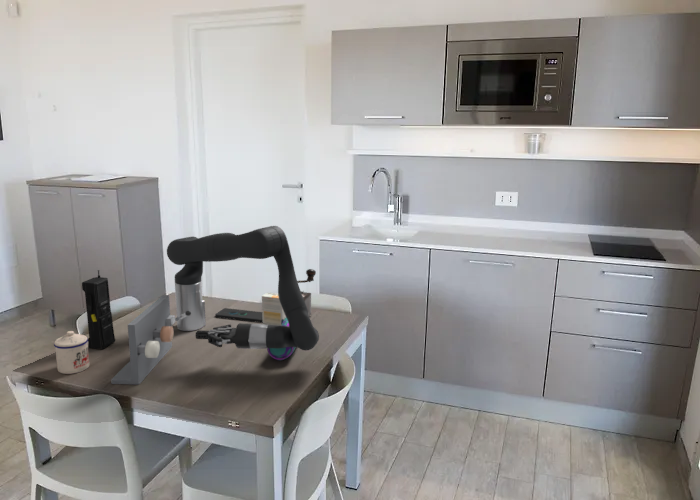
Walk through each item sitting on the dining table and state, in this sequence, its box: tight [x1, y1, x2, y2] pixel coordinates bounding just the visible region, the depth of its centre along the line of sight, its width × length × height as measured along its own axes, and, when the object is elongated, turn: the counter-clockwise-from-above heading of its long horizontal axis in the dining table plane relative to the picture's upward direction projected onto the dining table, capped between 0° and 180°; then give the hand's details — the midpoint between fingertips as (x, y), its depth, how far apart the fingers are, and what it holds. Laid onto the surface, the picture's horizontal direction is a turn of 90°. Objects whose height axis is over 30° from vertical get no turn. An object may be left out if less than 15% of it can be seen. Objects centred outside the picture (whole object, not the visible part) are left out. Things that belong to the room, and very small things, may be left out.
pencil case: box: [266, 318, 297, 361], centre depth 180 cm, size 21×9×10 cm, turn 173°
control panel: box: [110, 294, 176, 385], centre depth 165 cm, size 10×27×18 cm, turn 178°
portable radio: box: [81, 270, 116, 350], centre depth 177 cm, size 8×6×25 cm
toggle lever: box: [175, 310, 191, 322], centre depth 176 cm, size 6×2×2 cm, turn 88°
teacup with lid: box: [53, 330, 90, 375], centre depth 164 cm, size 12×9×12 cm
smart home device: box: [215, 307, 263, 323], centre depth 210 cm, size 8×2×20 cm
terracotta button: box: [153, 325, 175, 342], centre depth 165 cm, size 7×5×5 cm
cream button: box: [137, 341, 160, 358], centre depth 154 cm, size 7×5×5 cm
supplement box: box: [261, 292, 286, 325], centre depth 196 cm, size 8×5×13 cm, turn 71°
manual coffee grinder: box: [297, 268, 317, 319], centre depth 209 cm, size 16×11×18 cm
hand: (196, 334), depth 165 cm, fingers closed
